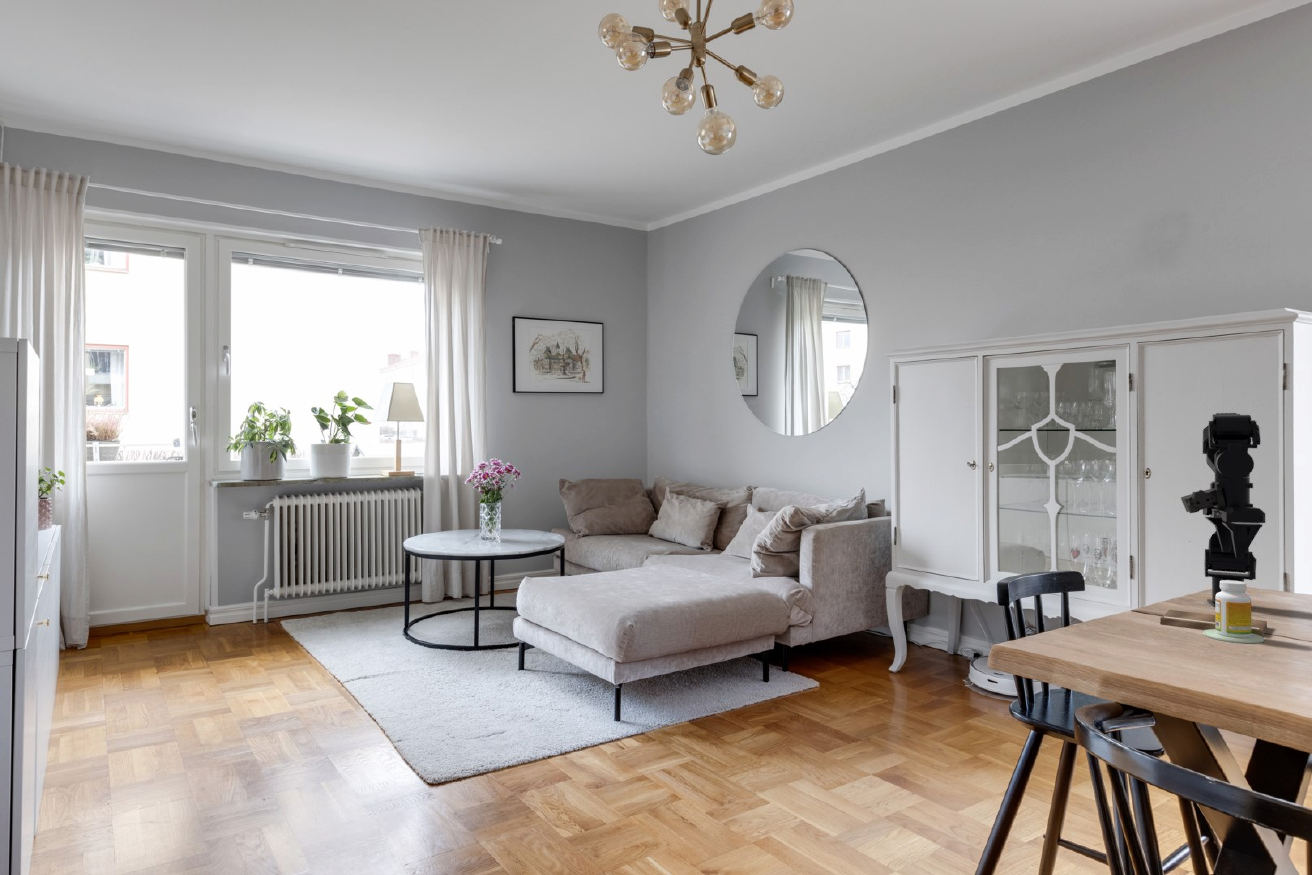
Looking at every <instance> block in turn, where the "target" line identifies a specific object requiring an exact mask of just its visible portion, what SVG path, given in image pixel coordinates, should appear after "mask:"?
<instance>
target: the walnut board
mask: <svg viewBox="0 0 1312 875" xmlns="http://www.w3.org/2000/svg"><path fill="white" fill-rule="evenodd" d="M1159 620H1160V625H1166V626H1174V627H1180V628H1189V629H1197V630H1202V631H1205V630H1210V629H1216V624H1215V614H1211V613H1210V614H1209V613H1208V614H1207V613H1200V612H1192V611H1183V610H1175V609H1168V610H1167V611H1166V613H1164V614H1163V615H1162V616H1161V617H1160V618H1159ZM1251 624H1252V634H1256V635H1259V636H1262V637H1263V636H1264V634H1265V633H1266V630H1267V629H1268V621H1267V620H1261V619H1260V620H1259V619H1253V618H1251Z"/></svg>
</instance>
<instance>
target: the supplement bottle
mask: <svg viewBox="0 0 1312 875" xmlns="http://www.w3.org/2000/svg"><path fill="white" fill-rule="evenodd" d="M1220 589H1221V592H1218V593H1217V594H1216V596H1215V606H1214V607H1215V608H1214V609H1215V610H1214V611H1215V614H1214V615H1215V624H1216V633H1218V634H1220V635H1223V636H1229V637H1237V638H1248V637H1250V636H1251V635H1252V624H1251V619H1252V597H1251V596H1250V595H1248V594H1247V593H1246V591H1247V589H1248V588H1247V583H1246V582H1245V581H1244V582H1241V581H1232V580H1221V581H1220Z"/></svg>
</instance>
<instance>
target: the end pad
mask: <svg viewBox="0 0 1312 875" xmlns="http://www.w3.org/2000/svg"><path fill="white" fill-rule="evenodd" d="M1203 635H1204V636H1205V637H1207V638H1209V639H1213V640H1217V641H1221V642H1229V643H1235V644H1237V643H1238V644H1260V643H1263V642H1265V638H1264V637H1263V636H1259V635H1256V634H1252V635H1251V636H1250V637H1248V638H1237V637H1229V636H1223V635H1220V634H1218V633H1216V629H1210V630H1203Z"/></svg>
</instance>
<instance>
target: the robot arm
mask: <svg viewBox="0 0 1312 875" xmlns="http://www.w3.org/2000/svg"><path fill="white" fill-rule="evenodd" d="M1260 433H1261V432H1260V426H1259V425H1258V424H1257V421H1256V420H1254V419H1253V420H1252V416H1251V415H1250V414H1241V413H1237V412H1223V413H1222V412H1218V413H1215V414H1212V418H1211V420H1208V425H1207V426H1206V427H1204V428H1203V429H1202V454H1203V455H1206V456H1205V457H1206V460H1205V462H1206V465H1207V466H1208V467H1209V469H1211V470H1212V472H1213V473H1214V481H1211V482H1210V484H1209V485H1210V486H1209V488H1208V489H1206V490H1203V489H1199V490H1197V491H1193V492H1192V493H1191V494H1188V495H1184V496H1182V497H1180V499H1181V502H1182V504H1183V507H1184V509H1185V511H1186V513H1189V514H1195V513H1198V512H1200V511H1202V515H1203V516H1204V518H1205V519H1206V520H1207V521H1209V522H1210V524H1212V525H1213V526H1214V528H1215V532H1213V533H1212V535H1211V536H1210V538H1209V539H1208V548H1205V549H1204V563H1203V564H1204V566H1203V567H1204V577H1205V578H1211V595H1212V596H1211V597H1212V598H1208V599H1206V602H1207V603H1209V605H1212V606H1213V607H1215V596H1216V594H1217V593H1218V592H1221V589H1220V581H1221V580H1232V581H1241V582H1245V580H1249V581H1253V580H1256V579H1257V578H1256V577H1257V574H1256V573H1257V558H1256V557H1255V556H1254V554H1253V551H1250V549H1249V548H1250V546H1251V544H1252V543H1253V541H1254V539H1255V537H1256V536H1257V534H1258V532H1259V531H1260V529H1261V528H1263V524H1266V512H1265V511H1263V510H1262V509H1261V508H1259V507H1256V506H1255V507H1254V503H1251V500H1250V499H1251V494H1250V492H1251V489H1254V483H1253V482H1250V478H1251V477H1250V476H1251V475H1250V474H1251V473H1252V472H1253V470H1254V468H1255V462H1254V459H1253V457H1252V456H1251V455H1250V454H1249V449H1258V446H1261V434H1260Z"/></svg>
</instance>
